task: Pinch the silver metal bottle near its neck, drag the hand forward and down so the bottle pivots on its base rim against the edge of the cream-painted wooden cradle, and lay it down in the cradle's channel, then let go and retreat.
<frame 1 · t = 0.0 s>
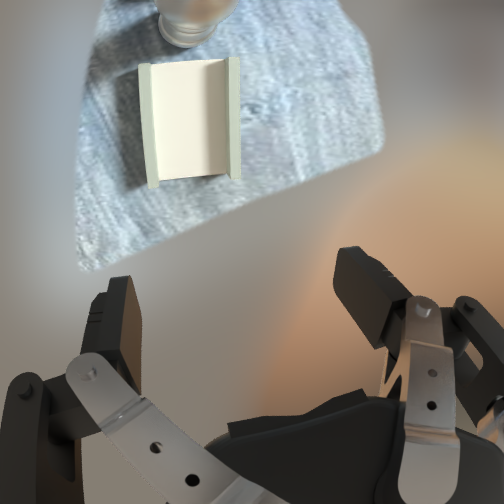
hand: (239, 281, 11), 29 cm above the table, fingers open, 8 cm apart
cradle: (189, 126, 35), on the table
silver metal bottle: (187, 26, 28), on the table
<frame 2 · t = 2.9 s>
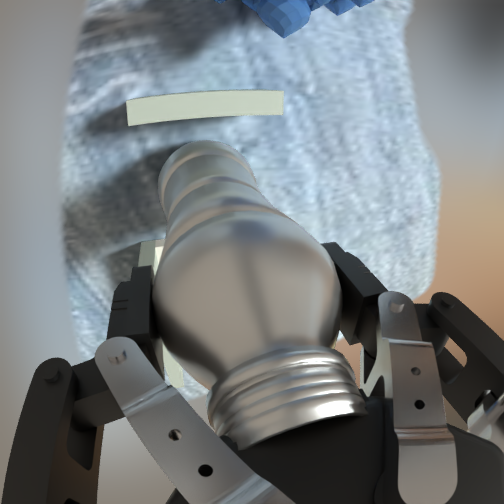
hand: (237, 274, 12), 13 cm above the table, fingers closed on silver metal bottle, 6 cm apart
cradle: (214, 310, 29), on the table
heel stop: (200, 101, 19), on the table
grapes: (255, 8, 17), on the table
silver metal bottle: (203, 176, 23), on the table, touching gripper
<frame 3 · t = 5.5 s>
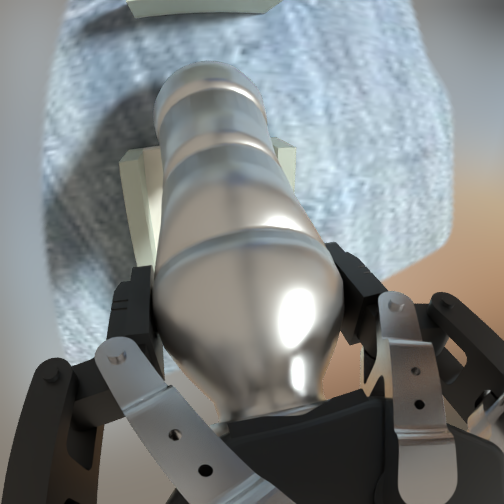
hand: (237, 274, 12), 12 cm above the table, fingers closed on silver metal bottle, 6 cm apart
cradle: (209, 242, 25), on the table
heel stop: (200, 3, 15), on the table
silver metal bottle: (206, 95, 18), point 1 cm above the table, touching cradle, gripper
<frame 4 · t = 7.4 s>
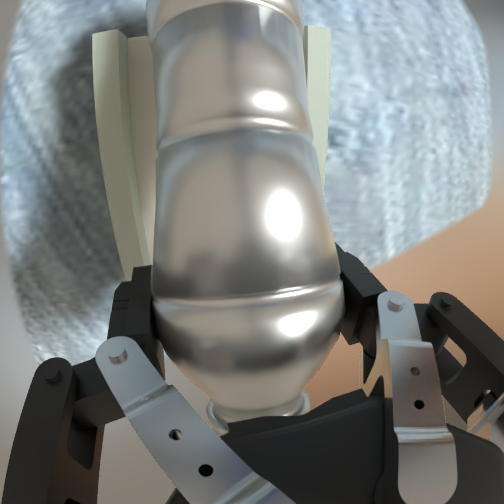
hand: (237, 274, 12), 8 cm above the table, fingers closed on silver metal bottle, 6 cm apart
cradle: (210, 169, 18), on the table
when the fingers open (7 cm above the table, at t = 8.4 s): silver metal bottle moves 1 cm, resting on cradle.
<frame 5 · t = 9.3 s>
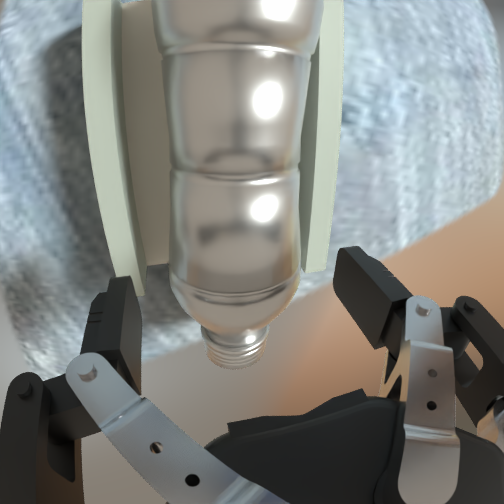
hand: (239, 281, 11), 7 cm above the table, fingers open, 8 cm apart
cradle: (210, 145, 16), on the table
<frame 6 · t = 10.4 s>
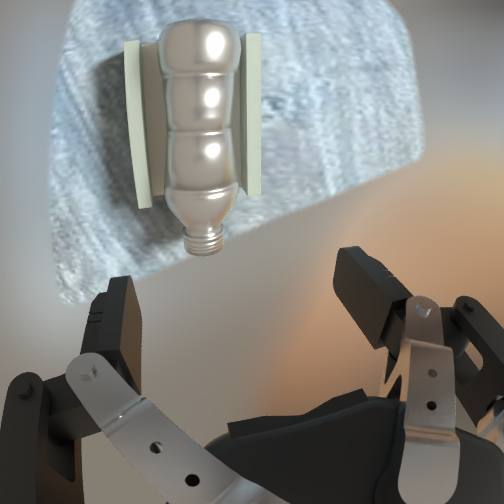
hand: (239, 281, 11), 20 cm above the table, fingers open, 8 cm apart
cradle: (192, 125, 27), on the table
silver metal bottle: (200, 17, 18), point 4 cm above the table, touching cradle
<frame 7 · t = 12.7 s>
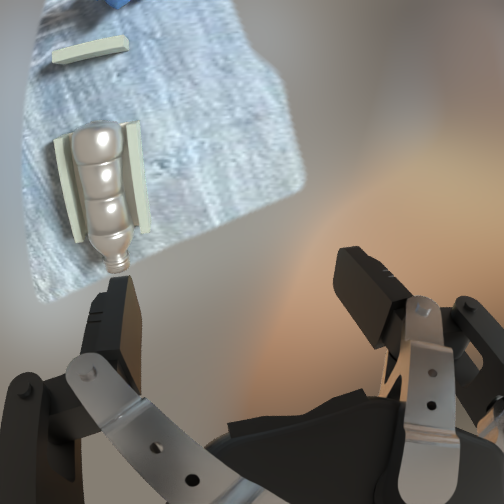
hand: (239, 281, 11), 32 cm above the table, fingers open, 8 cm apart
cradle: (108, 184, 38), on the table
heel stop: (95, 51, 29), on the table
silver metal bottle: (95, 119, 30), point 4 cm above the table, touching cradle
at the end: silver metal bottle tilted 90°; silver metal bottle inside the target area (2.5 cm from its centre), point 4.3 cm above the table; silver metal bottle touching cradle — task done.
